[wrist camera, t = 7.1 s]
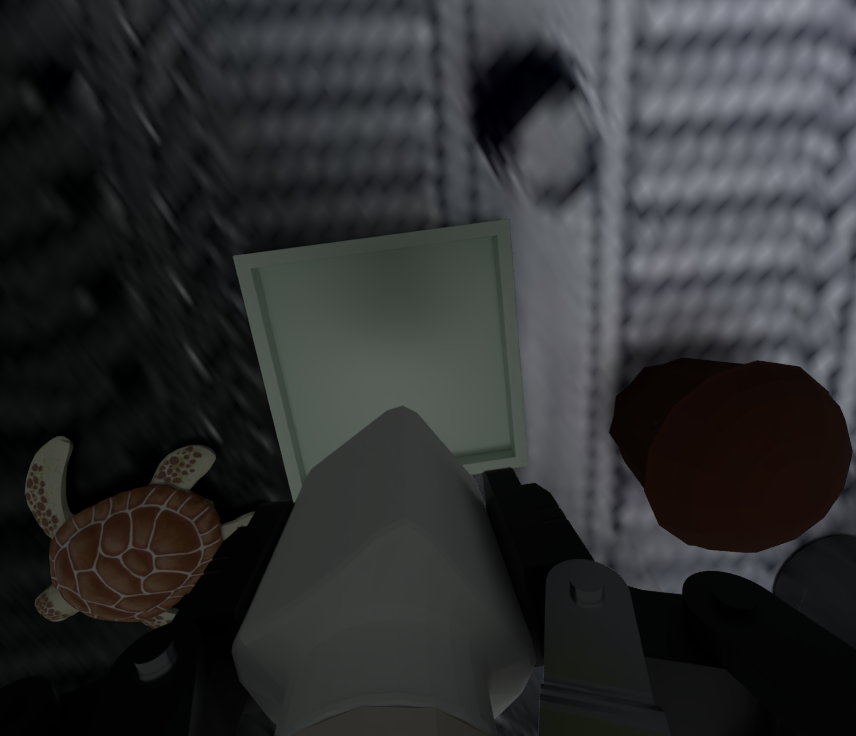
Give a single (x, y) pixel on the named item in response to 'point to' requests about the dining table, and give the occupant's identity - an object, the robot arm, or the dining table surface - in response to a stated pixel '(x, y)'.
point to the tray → (390, 341)
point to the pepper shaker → (386, 598)
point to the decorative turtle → (126, 539)
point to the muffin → (733, 450)
